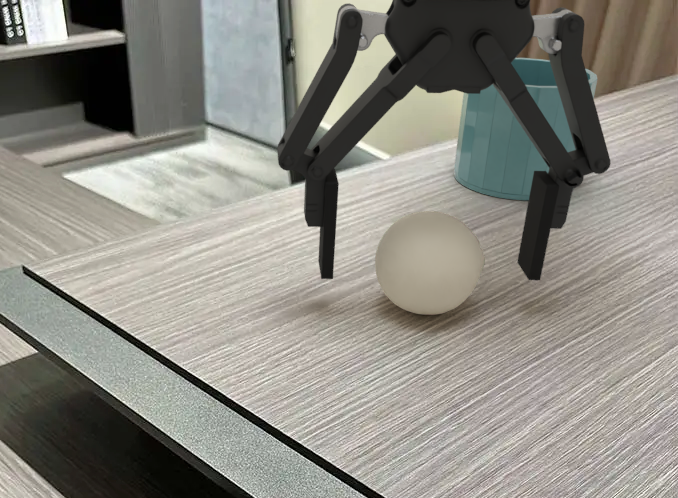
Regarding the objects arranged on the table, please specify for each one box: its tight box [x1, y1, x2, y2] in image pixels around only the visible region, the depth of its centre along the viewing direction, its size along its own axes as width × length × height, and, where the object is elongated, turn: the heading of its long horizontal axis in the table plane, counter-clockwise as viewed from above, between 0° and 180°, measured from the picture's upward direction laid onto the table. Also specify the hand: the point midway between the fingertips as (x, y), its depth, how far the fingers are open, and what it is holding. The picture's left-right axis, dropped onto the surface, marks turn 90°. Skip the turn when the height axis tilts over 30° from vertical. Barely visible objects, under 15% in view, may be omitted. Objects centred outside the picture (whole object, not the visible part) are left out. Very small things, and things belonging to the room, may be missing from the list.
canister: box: [453, 57, 598, 201], centre depth 75 cm, size 11×11×10 cm
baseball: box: [374, 210, 486, 316], centre depth 54 cm, size 7×7×7 cm
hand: (427, 271), depth 54 cm, fingers open, 13 cm apart
